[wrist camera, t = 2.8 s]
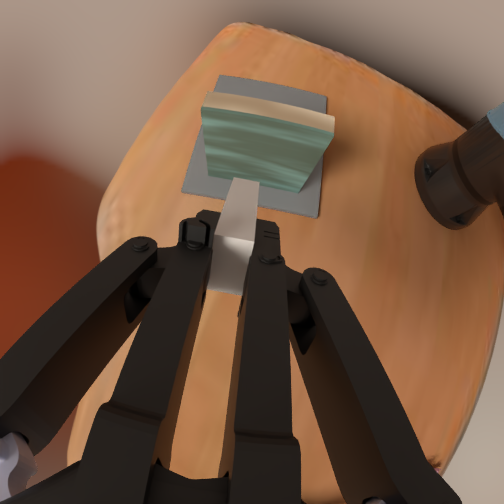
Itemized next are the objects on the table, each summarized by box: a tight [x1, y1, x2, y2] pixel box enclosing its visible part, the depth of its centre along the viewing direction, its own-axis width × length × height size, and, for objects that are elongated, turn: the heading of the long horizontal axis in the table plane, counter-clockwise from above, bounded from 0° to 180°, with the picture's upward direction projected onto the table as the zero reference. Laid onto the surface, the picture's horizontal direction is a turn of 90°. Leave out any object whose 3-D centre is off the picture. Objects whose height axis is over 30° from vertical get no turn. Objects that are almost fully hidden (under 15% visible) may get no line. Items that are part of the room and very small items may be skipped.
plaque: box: [201, 91, 335, 193], centre depth 30 cm, size 2×12×14 cm, turn 80°
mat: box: [181, 75, 326, 219], centre depth 38 cm, size 22×18×1 cm
